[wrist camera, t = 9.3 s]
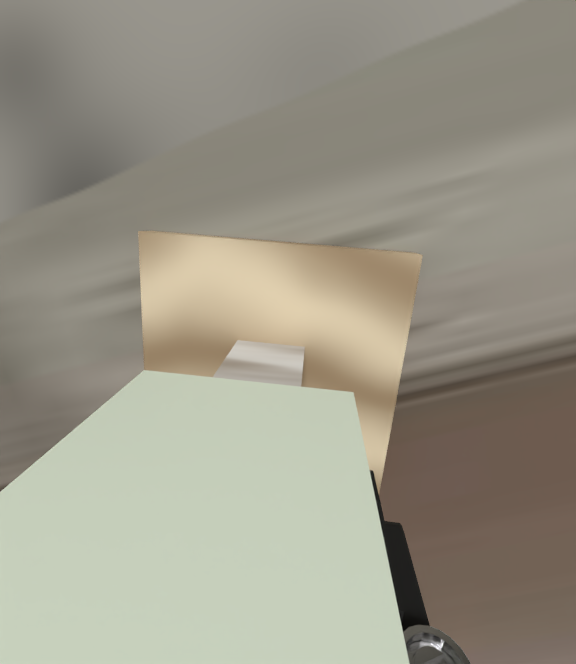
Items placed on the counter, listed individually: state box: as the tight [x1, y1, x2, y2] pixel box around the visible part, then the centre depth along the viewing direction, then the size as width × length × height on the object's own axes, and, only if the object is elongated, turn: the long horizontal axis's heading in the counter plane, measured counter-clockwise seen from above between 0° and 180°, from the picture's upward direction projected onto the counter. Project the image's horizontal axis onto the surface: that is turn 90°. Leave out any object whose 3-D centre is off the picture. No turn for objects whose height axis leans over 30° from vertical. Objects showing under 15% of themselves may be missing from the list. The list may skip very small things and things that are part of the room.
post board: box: [138, 231, 423, 494], centre depth 17 cm, size 14×14×8 cm
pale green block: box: [0, 370, 409, 664], centre depth 8 cm, size 6×6×8 cm
